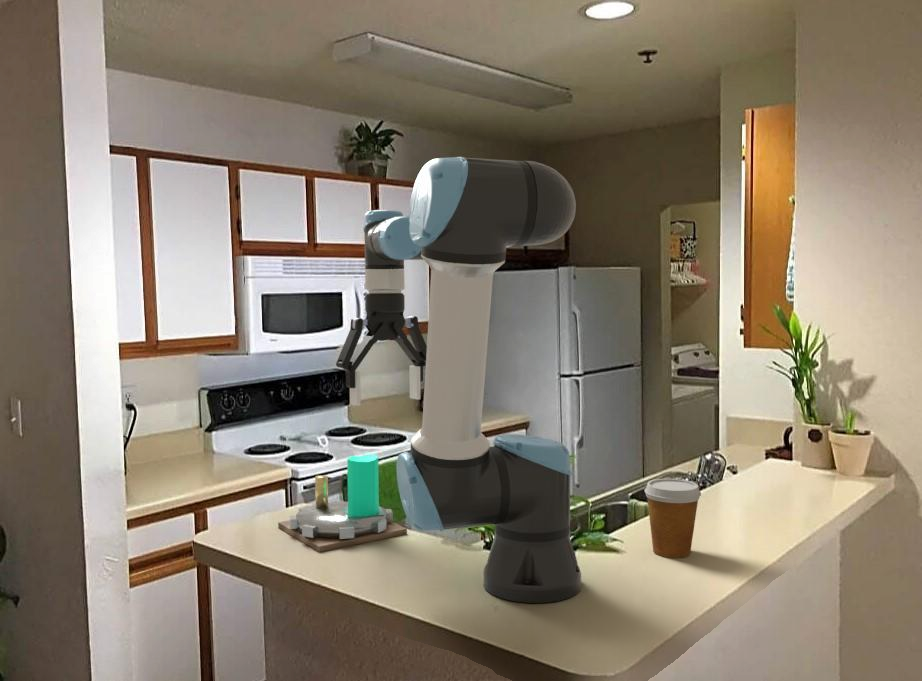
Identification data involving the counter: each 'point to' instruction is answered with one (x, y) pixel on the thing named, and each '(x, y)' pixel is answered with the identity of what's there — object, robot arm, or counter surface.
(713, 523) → the counter surface
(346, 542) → the base board
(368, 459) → the candle
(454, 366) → the robot arm
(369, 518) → the turntable
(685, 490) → the disposable coffee cup
